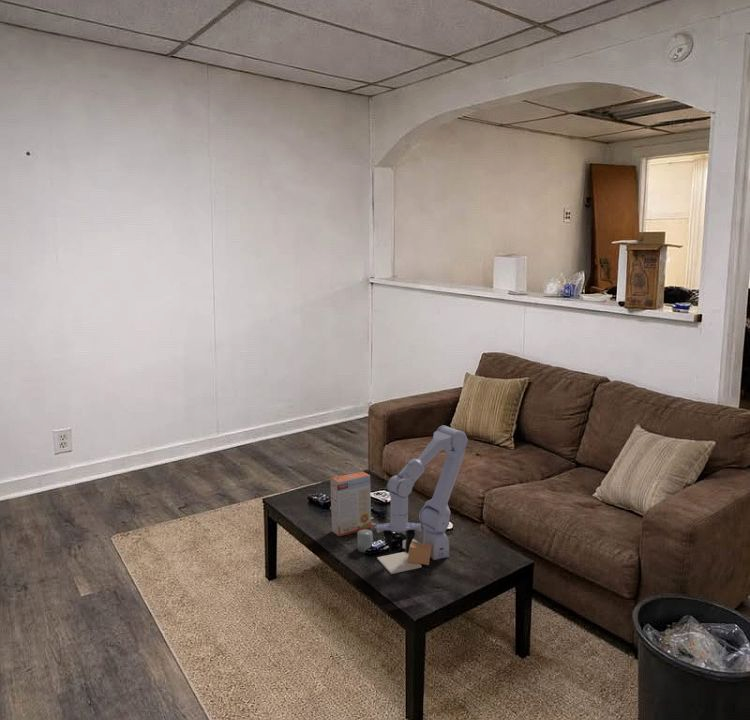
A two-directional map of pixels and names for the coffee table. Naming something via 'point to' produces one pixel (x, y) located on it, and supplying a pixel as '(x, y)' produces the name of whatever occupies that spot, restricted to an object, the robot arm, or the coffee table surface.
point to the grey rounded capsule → (364, 539)
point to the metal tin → (405, 543)
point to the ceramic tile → (398, 562)
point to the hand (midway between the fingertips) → (398, 551)
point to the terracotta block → (419, 553)
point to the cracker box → (350, 503)
